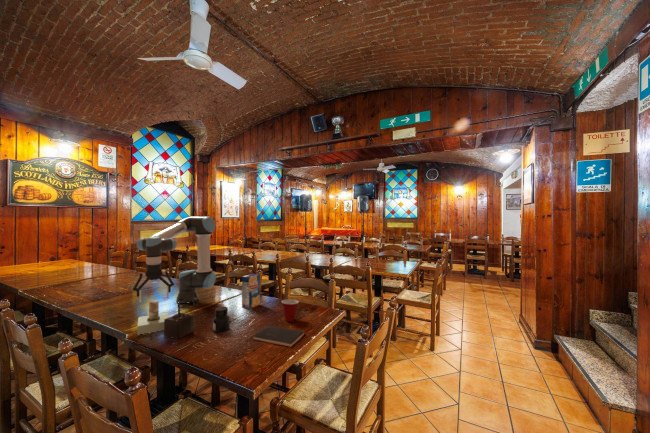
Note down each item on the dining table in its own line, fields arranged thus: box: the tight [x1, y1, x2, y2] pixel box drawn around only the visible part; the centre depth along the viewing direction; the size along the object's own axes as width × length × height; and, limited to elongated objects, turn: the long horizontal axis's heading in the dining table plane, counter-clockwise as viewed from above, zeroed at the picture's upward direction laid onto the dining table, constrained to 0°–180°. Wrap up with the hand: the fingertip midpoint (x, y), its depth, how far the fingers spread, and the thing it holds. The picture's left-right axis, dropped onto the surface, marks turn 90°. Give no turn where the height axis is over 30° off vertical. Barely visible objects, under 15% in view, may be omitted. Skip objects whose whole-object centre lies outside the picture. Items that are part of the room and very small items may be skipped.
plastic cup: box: [281, 298, 300, 322], centre depth 173 cm, size 11×11×12 cm
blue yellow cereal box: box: [241, 273, 261, 310], centre depth 199 cm, size 7×11×22 cm, turn 152°
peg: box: [148, 300, 160, 321], centre depth 159 cm, size 5×5×15 cm
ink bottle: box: [212, 306, 231, 333], centre depth 157 cm, size 10×9×12 cm
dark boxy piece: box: [163, 297, 201, 339], centre depth 153 cm, size 16×11×18 cm
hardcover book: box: [252, 325, 306, 348], centre depth 148 cm, size 16×23×2 cm
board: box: [136, 312, 170, 336], centre depth 159 cm, size 15×16×5 cm
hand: (154, 300), depth 160 cm, fingers open, 13 cm apart
